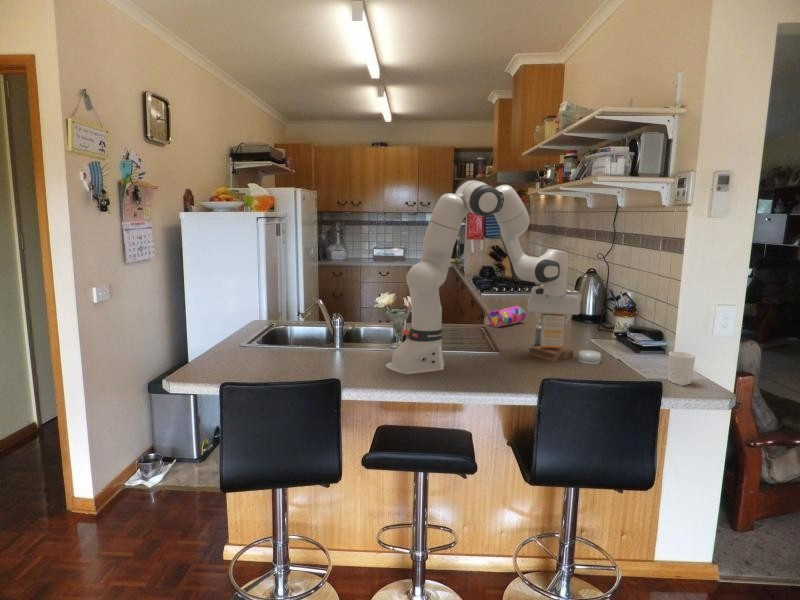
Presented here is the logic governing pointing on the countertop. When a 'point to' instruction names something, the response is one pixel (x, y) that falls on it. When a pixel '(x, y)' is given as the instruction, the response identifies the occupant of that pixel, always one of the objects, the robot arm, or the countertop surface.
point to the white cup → (680, 367)
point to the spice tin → (537, 335)
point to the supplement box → (552, 331)
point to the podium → (551, 353)
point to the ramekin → (589, 356)
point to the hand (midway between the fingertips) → (552, 324)
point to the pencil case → (506, 316)
